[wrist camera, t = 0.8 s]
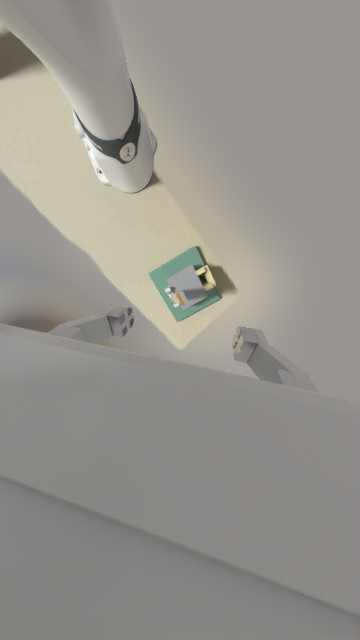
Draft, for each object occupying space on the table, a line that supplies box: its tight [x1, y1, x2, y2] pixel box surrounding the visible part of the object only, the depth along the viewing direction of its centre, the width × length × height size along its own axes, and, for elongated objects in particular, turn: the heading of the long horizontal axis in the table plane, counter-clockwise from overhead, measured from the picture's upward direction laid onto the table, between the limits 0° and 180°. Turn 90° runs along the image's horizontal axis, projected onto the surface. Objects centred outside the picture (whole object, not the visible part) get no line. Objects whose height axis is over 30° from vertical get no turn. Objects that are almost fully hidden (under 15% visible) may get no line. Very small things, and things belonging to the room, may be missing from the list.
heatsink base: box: [149, 246, 220, 322], centre depth 45 cm, size 20×18×10 cm
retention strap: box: [167, 291, 189, 306], centre depth 37 cm, size 4×13×2 cm
